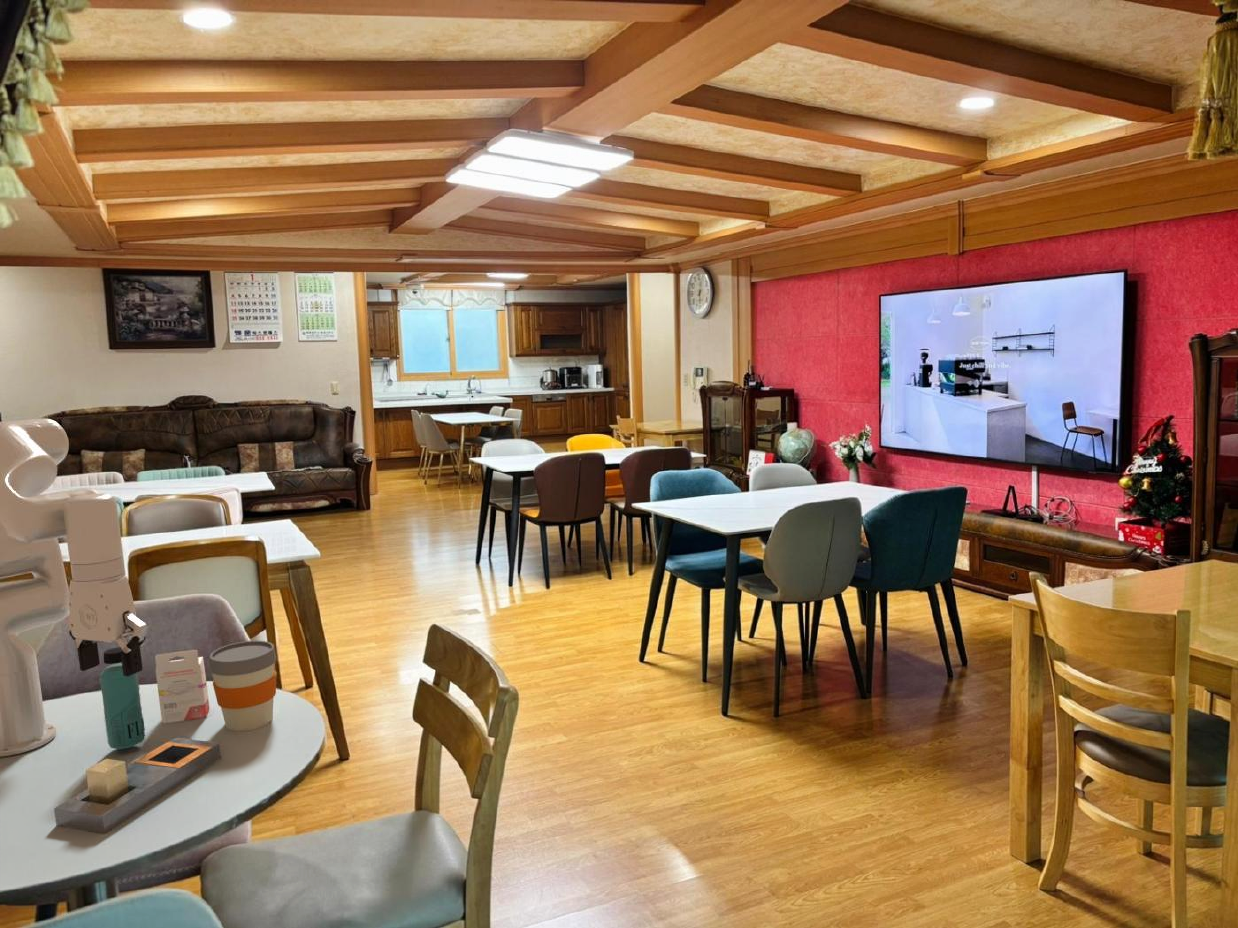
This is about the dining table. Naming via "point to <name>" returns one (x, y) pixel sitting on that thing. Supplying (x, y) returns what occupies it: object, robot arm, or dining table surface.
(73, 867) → the dining table surface
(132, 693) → the beverage bottle
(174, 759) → the grey flat rectangular block
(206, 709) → the ink cartridge box
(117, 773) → the wooden block
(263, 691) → the reusable coffee cup
